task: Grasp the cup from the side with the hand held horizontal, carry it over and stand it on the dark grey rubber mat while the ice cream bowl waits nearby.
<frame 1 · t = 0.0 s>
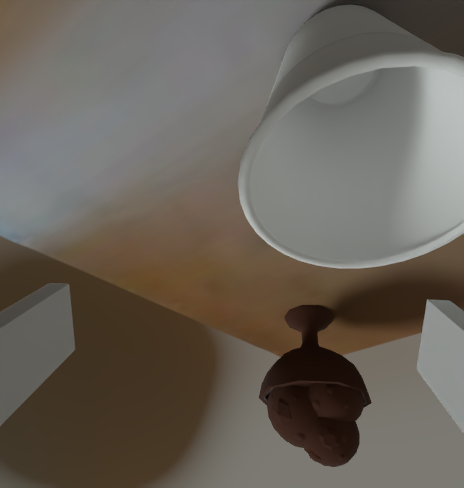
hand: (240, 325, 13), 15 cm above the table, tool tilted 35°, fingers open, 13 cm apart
ice cream bowl: (308, 315, 43), on the table
cup: (335, 62, 21), on the table
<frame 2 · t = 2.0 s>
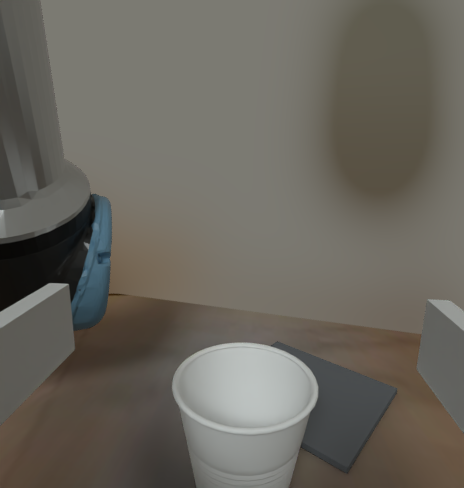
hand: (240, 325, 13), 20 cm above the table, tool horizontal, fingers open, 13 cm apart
mat: (303, 393, 40), on the table
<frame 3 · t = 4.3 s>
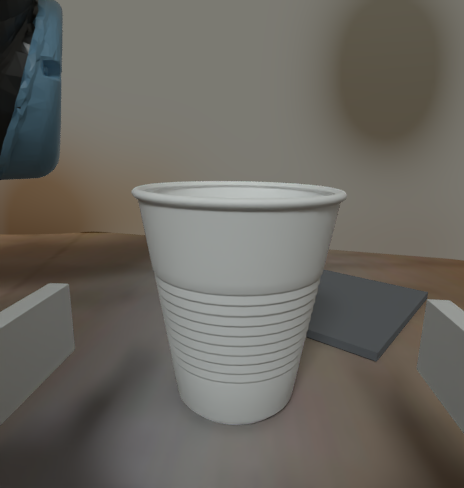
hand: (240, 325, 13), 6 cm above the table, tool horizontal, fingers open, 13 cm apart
cup: (235, 393, 20), on the table
mat: (312, 298, 33), on the table
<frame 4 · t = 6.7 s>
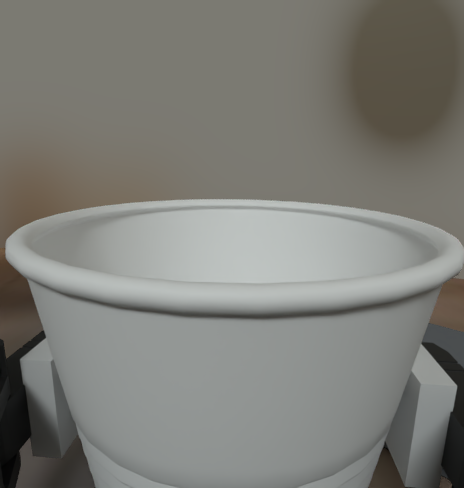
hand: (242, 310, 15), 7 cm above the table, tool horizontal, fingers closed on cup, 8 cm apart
mat: (336, 347, 25), on the table
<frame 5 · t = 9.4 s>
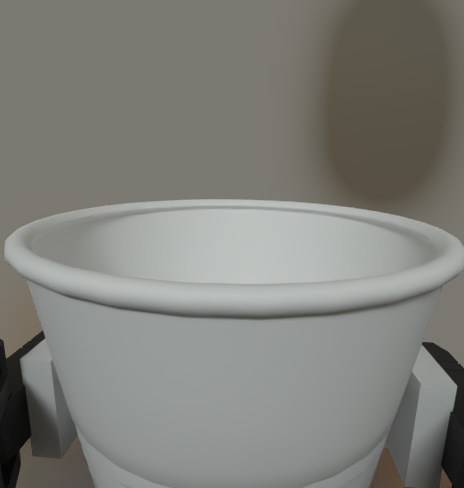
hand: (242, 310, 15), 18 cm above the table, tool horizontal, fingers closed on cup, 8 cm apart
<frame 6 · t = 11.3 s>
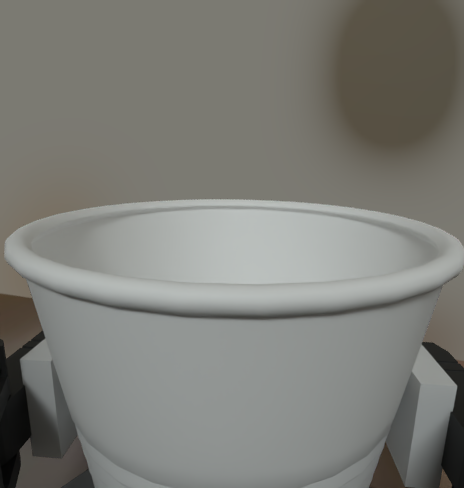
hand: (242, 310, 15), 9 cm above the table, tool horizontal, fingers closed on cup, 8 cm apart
when the fingers open (9 cm above the table, at t = 12.1 s): cup moves 3 cm, resting on mat.
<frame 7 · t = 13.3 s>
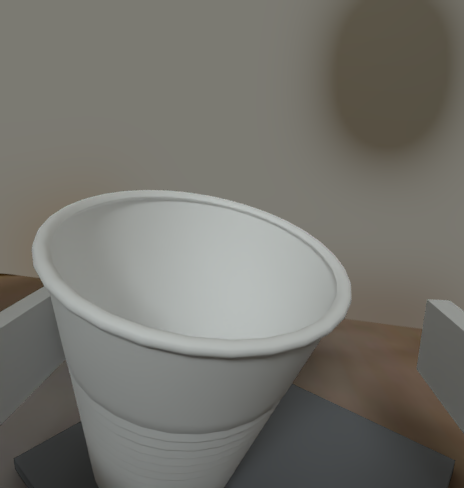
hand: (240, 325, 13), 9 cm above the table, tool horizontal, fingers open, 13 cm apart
cup: (163, 456, 17), point 1 cm above the table, touching mat
mat: (235, 469, 17), on the table
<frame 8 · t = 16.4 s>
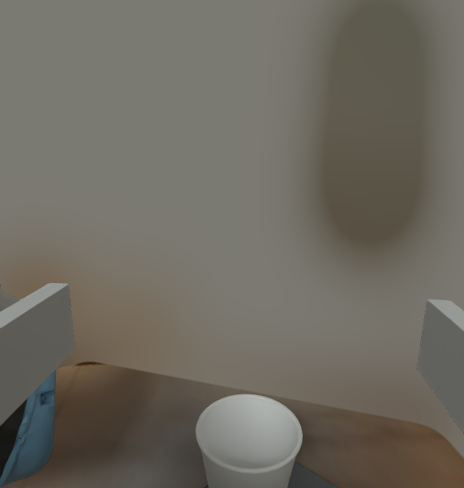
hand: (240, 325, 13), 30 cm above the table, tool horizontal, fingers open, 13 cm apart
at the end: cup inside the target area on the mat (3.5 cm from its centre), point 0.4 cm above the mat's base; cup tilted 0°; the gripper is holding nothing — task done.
